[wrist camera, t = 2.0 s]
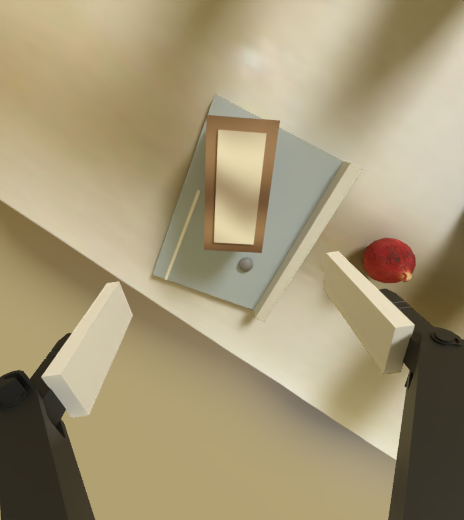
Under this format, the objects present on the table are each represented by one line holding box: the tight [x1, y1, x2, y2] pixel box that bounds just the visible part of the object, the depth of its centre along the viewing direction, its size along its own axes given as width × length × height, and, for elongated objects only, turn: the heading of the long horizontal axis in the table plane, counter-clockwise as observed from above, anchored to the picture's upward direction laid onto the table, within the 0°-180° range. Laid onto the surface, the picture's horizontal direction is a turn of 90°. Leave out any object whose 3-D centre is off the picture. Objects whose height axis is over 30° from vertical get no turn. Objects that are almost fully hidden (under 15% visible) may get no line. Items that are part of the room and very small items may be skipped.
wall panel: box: [153, 94, 362, 322], centre depth 32 cm, size 24×18×3 cm
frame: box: [204, 115, 280, 253], centre depth 26 cm, size 12×6×8 cm, turn 176°
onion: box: [362, 238, 416, 283], centre depth 32 cm, size 6×6×8 cm
